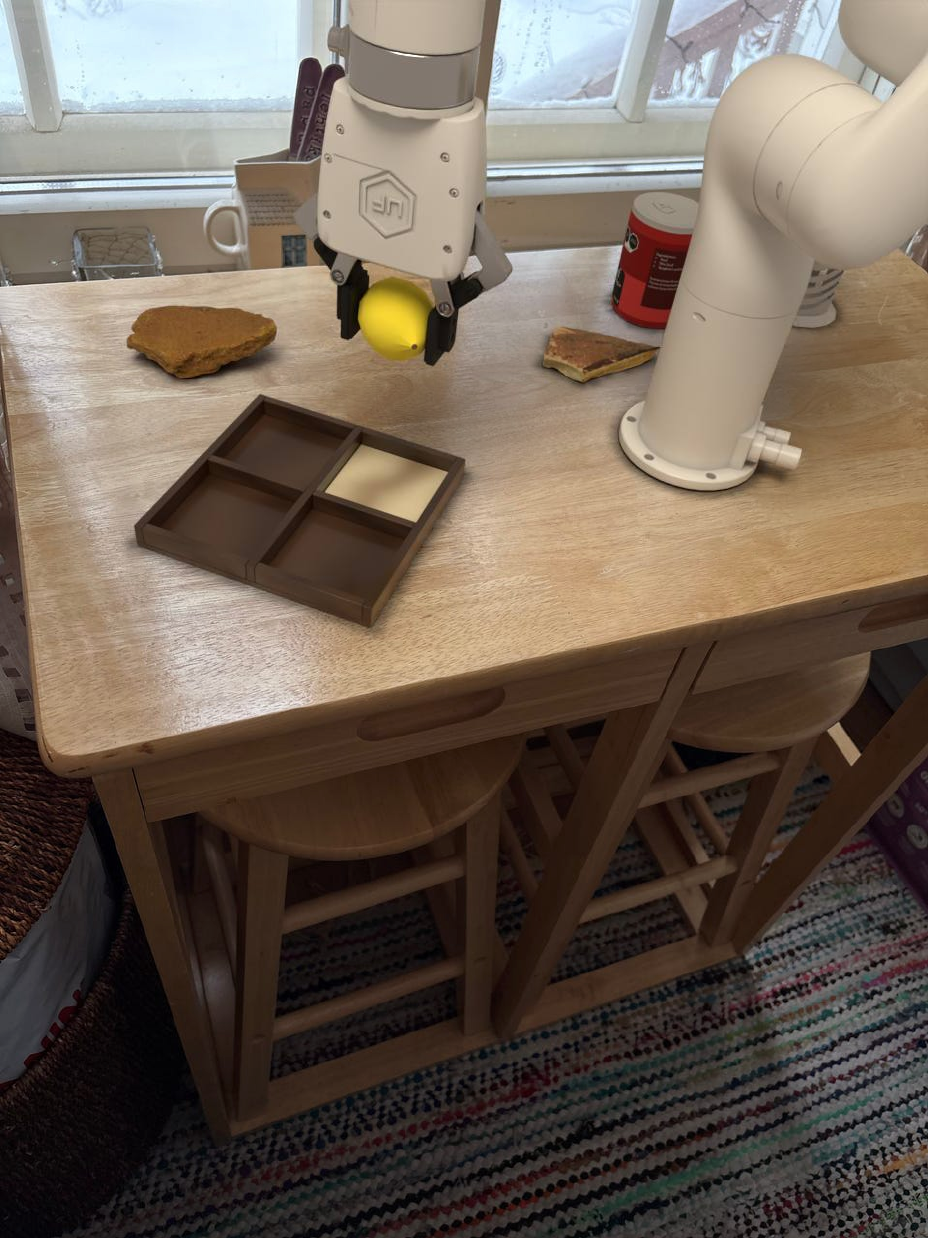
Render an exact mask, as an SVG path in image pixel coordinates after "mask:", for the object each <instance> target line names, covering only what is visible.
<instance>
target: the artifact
mask: <svg viewBox="0 0 928 1238" xmlns="http://www.w3.org/2000/svg"><path fill="white" fill-rule="evenodd" d="M130 328H131V330H132V332H133V333H131V334H129V335H128V336H127V338H126V347H127V349H129V350H135V351H136V352H139V353H142V354H144V355H145V356H146V358H147V359H148V360H153V361H154V362H157V363H158V365H160V366H161V367H162V368H163V369H164V371H165V372H167V373H169V374H171V376H172V375H173V376H175V377H176V378H179V379H188V378H195V377H198V376H201V375H206V374H207V375H209V374H213V373H216V372H218V371H219V369H220V368H221V367H222V366H225V365H226V364H229V363H230V362H232V361H234V362H237V361H240V360H241V359H243V358H245V357H251V356H252V355H253V354H257V353H258V352H259V351H260V350H262V349H264V348H265V347H267V346H270V345H271V343H273V342H274V341H275V340H276V336H277V332H278V327H277V325H276V323H275V321H274V319H272V318H270V317H265V316H263V315H262V313H254V312H250V311H245V310H243V309H242V308H238V307H223V308H222V307H213V306H207V305H202V306H201V305H199V306H197V305H195V306H191V305H165V306H158V307H153V308H148V309H146V310H145V311H143V312H141V313H140V314H139V315H138V316H137V317H136V320H135V321H134V322H133V323H132V325H131V327H130Z"/></svg>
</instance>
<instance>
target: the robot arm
mask: <svg viewBox="0 0 928 1238" xmlns="http://www.w3.org/2000/svg"><path fill="white" fill-rule="evenodd" d="M486 1H487V0H348V23H347V24H346V25H344V26H343V27H340V26H335V25H332V26H331V27H330V28H329V30H328V34H327V39H326V40H327V42H326V43H327V44H326V45H327V49H328V50H329V52H333V53H336V54H338V55H339V56H340V57H341V58H343V59H344V74H345V76H342V77H340V78H338V79H337V80H335V81H334V83H333V87H332V90H331V96H330V100H329V104H328V110H327V113H326V114H327V115H326V122H325V127H324V134H323V140H322V148H321V155H320V166H319V177H318V188H317V189H318V190H317V191H316V192H314V194H313V195H312V196H310V197H309V198H308V199H307V200H306V201H305V202H304V203H303V204H302V205H301V206H300V207H298V208H297V209H296V210H295V211H294V213H293V215H292V216H293V220H294V222H295V224H296V225H297V226H298V227H299V229H300V230H301V231H302V232H303V234H304V235H305V236H306V237H307V239H308V240H309V241H311V242H312V243H313V249H314V251H315V252H316V253H317V254H318V256H319V257H320V259H321V260H322V261H323V263H324V264H325V265H326V267H327V268H328V269H329V271H330V272H329V277H330V280H331V281H332V282H333V283H334V284H335V285H336V319H337V320H339V321H340V338H341V339H342V340H345V341H349V340H352V339H353V338H354V337H355V336H356V335H357V334H358V333H359V332H360V331H361V327H360V324H359V321H358V312H359V301H360V300H361V299H362V297H363V296H364V294H365V293H366V292H367V290H368V289H369V288H370V275H369V270H368V269H365V268H364V267H363V265H364V262H365V263H369V264H373V265H376V266H380V267H383V268H386V269H389V270H394V271H397V272H400V273H404V274H408V275H411V276H413V277H418V278H422V279H425V280H429V284H430V288H431V291H432V295H433V300H434V308H433V309H432V310H431V312H430V313H429V315H428V320H427V331H426V342H425V350H424V354H423V362H424V363H425V365H427V366H430V367H435V365H437V363H438V361H440V359H441V357H442V356H443V355H444V354H445V353H447V354H449V353H450V352H451V351H452V349H453V347H454V346H455V342H456V339H457V328H458V320H459V312H460V309H461V308H463V307H465V306H466V305H467V304H469V303H471V302H473V301H474V300H476V299H477V298H478V297H479V296H480V295H482V294H484V293H486V292H489V291H490V290H492V289H495V288H496V287H498V286H499V285H501V284H503V283H504V282H506V281H507V280H508V278H509V276H510V275H511V274H512V272H513V271H514V270H513V269H514V268H513V264H512V263H511V261H510V259H509V257H508V256H507V255H506V253H505V251H504V250H503V248H502V246H501V244H500V243H499V242H498V240H497V238H496V236H495V234H493V231H492V230H491V228H490V227H489V225H488V223H487V222H486V220H485V219H486V203H487V185H488V184H487V182H488V143H487V140H488V139H487V123H486V112H485V103H484V101H483V100H482V99H481V98H480V97H477V96H476V89H477V81H478V72H479V62H480V54H481V44H482V43H481V42H482V36H483V27H484V18H485V9H486ZM837 23H838V28H839V34H840V37H841V39H842V40H843V43H844V44H845V47H847V50H849V52H850V53H851V54H852V55H853V56H854V57H855V58H856V59H857V60H859V61H860V62H861V64H862V65H864V66H866V67H867V68H868V69H870V70H871V71H872V72H874V73H875V74H877V76H878V75H880V76H881V77H880V78H883V79H885V80H886V81H888V82H889V83H891V85H894V86H895V87H897V88H896V90H894V92H893V93H892V94H891V95H890V96H889V97H888V98H887V100H885V101H883V100H881V99H880V98H879V97H877V96H875V94H874V95H872V92H870V91H869V90H868V89H867V88H865V87H863V86H862V85H860V84H859V83H857V82H856V81H854V80H852V79H851V78H849V77H848V76H847V75H845V74H843V73H842V72H841V71H839V70H837V69H835V68H834V67H833V66H830V65H829V64H827V63H825V62H823V61H821V60H819V59H817V58H815V57H811V56H806V55H803V54H799V53H778V54H772V55H768V56H766V57H762V58H761V59H758V60H756V61H755V62H753V63H751V64H750V65H748V66H747V67H745V68H744V69H743V70H742V71H741V72H740V73H738V74H737V75H736V76H735V78H733V80H732V81H731V82H730V83H729V84H728V86H727V87H726V88H725V90H724V92H723V93H722V95H721V96H720V98H719V100H718V103H717V104H716V106H715V109H714V111H713V113H712V116H711V119H710V123H709V127H708V131H707V134H706V141H705V145H704V146H705V147H704V153H703V161H702V173H701V174H702V175H701V183H700V192H699V201H698V203H699V206H698V211H697V217H696V221H695V225H694V230H693V234H692V238H691V242H690V246H689V249H688V253H687V257H686V260H685V264H684V267H683V271H682V274H681V277H680V281H679V284H678V288H677V291H676V295H675V298H674V302H673V305H672V309H671V312H670V316H669V319H668V323H667V326H666V328H665V330H664V334H663V338H662V341H661V344H660V346H659V347H660V350H659V351H658V355H657V359H656V361H655V365H654V369H653V372H652V376H651V379H650V383H649V387H648V390H647V393H646V398H645V399H644V400H641V401H639V402H638V403H635V404H634V405H633V406H631V407H630V408H628V409H627V410H626V411H625V413H624V415H623V416H622V418H621V422H620V425H619V429H618V438H619V444H620V446H621V448H622V450H623V452H624V454H625V455H626V456H627V457H628V459H629V460H630V461H631V462H632V463H633V464H634V465H635V466H637V467H638V468H639V469H641V470H642V471H643V472H645V473H646V474H648V475H649V476H651V477H653V478H655V479H657V480H659V481H661V482H663V483H667V484H668V485H669V484H670V485H672V486H675V487H679V488H684V489H687V490H696V491H718V490H725V489H726V490H727V489H730V488H733V487H736V486H738V485H741V484H742V483H744V482H746V481H747V480H748V479H749V478H751V477H752V476H753V474H754V473H755V471H756V469H757V466H758V464H759V461H764V462H767V463H771V464H774V466H778V467H782V468H785V469H788V470H791V471H795V470H796V469H797V467H798V464H799V461H800V459H801V456H802V452H803V448H800V447H797V446H793V445H790V444H789V441H790V438H791V435H792V434H791V433H792V432H791V431H788V430H787V431H786V430H784V429H781V428H780V429H779V428H774V427H771V426H767V425H766V422H764V421H762V420H760V419H761V415H762V412H763V409H764V405H763V402H764V400H765V397H766V394H767V391H768V389H769V386H770V384H771V381H772V379H773V376H774V374H775V371H776V368H777V365H778V363H779V360H780V358H781V355H782V353H783V350H784V347H785V345H786V342H787V339H788V337H789V335H790V332H791V330H792V327H793V326H792V325H793V322H794V319H795V317H796V314H797V312H798V309H799V307H800V305H801V302H802V300H803V297H804V295H805V292H806V289H807V286H808V283H809V280H810V277H811V273H812V269H813V264H814V260H816V261H817V262H819V263H821V264H823V265H825V266H827V267H830V268H833V269H839V270H844V271H852V270H853V271H854V270H859V269H862V268H865V267H868V266H871V265H874V264H876V263H877V262H880V261H882V260H883V259H885V258H886V257H888V256H890V255H891V254H893V253H894V252H895V251H897V250H898V249H899V248H900V247H902V246H903V245H904V244H905V243H907V242H908V241H909V240H910V239H911V238H912V237H913V236H914V235H916V234H917V233H918V232H919V231H920V230H921V229H922V228H923V227H925V225H926V224H927V223H928V0H840V4H839V7H838V13H837ZM473 256H475V257H476V259H477V260H478V262H479V264H480V265H481V268H480V269H479V270H476V271H474V272H472V273H471V274H469V275H468V276H466V277H465V274H464V270H465V268H466V266H467V263H468V261H469V257H473Z"/></svg>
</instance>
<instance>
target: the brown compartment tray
mask: <svg viewBox="0 0 928 1238" xmlns="http://www.w3.org/2000/svg"><path fill="white" fill-rule="evenodd" d="M466 461H467V460H466V458H464V457H461V456H458V455H455V454H451V453H448V452H445V451H442V450H439V449H437V448H436V449H435V448H433V447H429V446H426V445H423V444H420V443H416V442H414V441H410V440H407V439H404V438H401V437H398V436H394V435H391V434H388V433H385V432H382V431H379V430H376V429H373V428H369V427H366V426H363V425H359V424H356V423H353V422H350V421H347V420H344V419H341V418H337V417H334V416H332V415H331V416H330V415H328V414H324V413H321V412H318V411H316V410H312V409H309V408H305V407H302V406H299V405H296V404H292V403H291V402H287V401H284V400H280V399H277V398H274V397H271V396H267V395H265V394H261V393H259V394H258V395H257V396H256V397H255V399H254V400H253V401H252V402H251V403H249V404H248V406H246V408H245V409H244V410H243V411H241V413H240V414H239V415H238V416H237V417H236V418H235V419H234V420H233V421H232V422H231V424H229V426H228V427H226V428H225V430H224V431H223V432H222V433H221V434H220V435H219V436H218V437H217V438H216V439H215V440H214V441H213V442H212V443H211V444H210V445H209V446H208V448H206V449H205V450H204V452H202V454H201V455H199V457H198V458H197V459H196V460H195V461H194V462H193V463H192V464H191V465H190V466H189V467H188V468H187V469H186V470H185V471H184V472H183V474H181V475H180V477H178V479H177V480H176V481H174V483H172V485H171V486H170V487H169V488H168V489H167V490H166V491H165V492H164V493H163V494H162V495H161V497H160V498H159V499H158V500H157V501H156V502H155V503H154V504H153V505H152V506H151V507H150V508H149V509H148V510H147V511H146V512H145V513H144V514H143V515H142V516H141V517H140V518H139V520H137V521H136V523H135V524H134V525H133V529H134V533H135V539H136V545H137V546H138V547H141V548H143V549H146V550H149V551H152V552H155V553H158V554H161V555H163V556H166V557H168V558H172V559H173V560H174V559H175V560H177V561H180V562H183V563H186V564H189V565H191V566H194V567H197V568H200V569H202V570H206V571H209V572H211V573H215V574H216V575H219V576H223V577H226V578H228V579H231V580H234V581H237V582H240V583H243V584H245V585H248V586H251V587H254V588H256V589H259V590H262V591H265V592H268V593H271V594H273V595H276V596H279V597H282V598H284V599H288V600H290V601H293V602H296V603H299V604H302V605H305V606H307V607H310V608H313V609H316V610H318V611H322V612H324V613H328V614H330V615H333V616H336V617H339V618H342V619H343V620H347V621H350V622H352V623H355V624H359V625H361V626H364V627H367V628H370V629H371V628H372V626H373V625H374V623H375V622H376V620H377V619H378V617H379V615H380V614H381V612H382V611H383V609H384V607H385V606H386V604H387V602H388V601H389V600H390V597H391V596H392V594H393V593H394V591H395V589H396V588H397V586H398V585H399V583H400V581H401V580H402V578H403V576H404V575H405V573H406V572H407V570H408V568H409V567H410V565H411V563H412V562H413V560H414V559H415V557H416V555H417V554H418V552H419V550H420V548H421V547H422V545H423V544H424V542H425V541H426V539H427V538H428V536H429V534H430V532H431V531H432V530H433V528H434V526H435V525H436V523H437V521H438V520H439V518H440V516H441V515H442V513H443V512H444V510H445V508H446V507H447V505H448V503H449V501H450V500H451V498H452V497H453V495H454V493H455V492H456V491H457V489H458V487H459V486H460V484H461V482H462V480H463V479H464V476H465V468H466V467H465V466H466Z"/></svg>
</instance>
